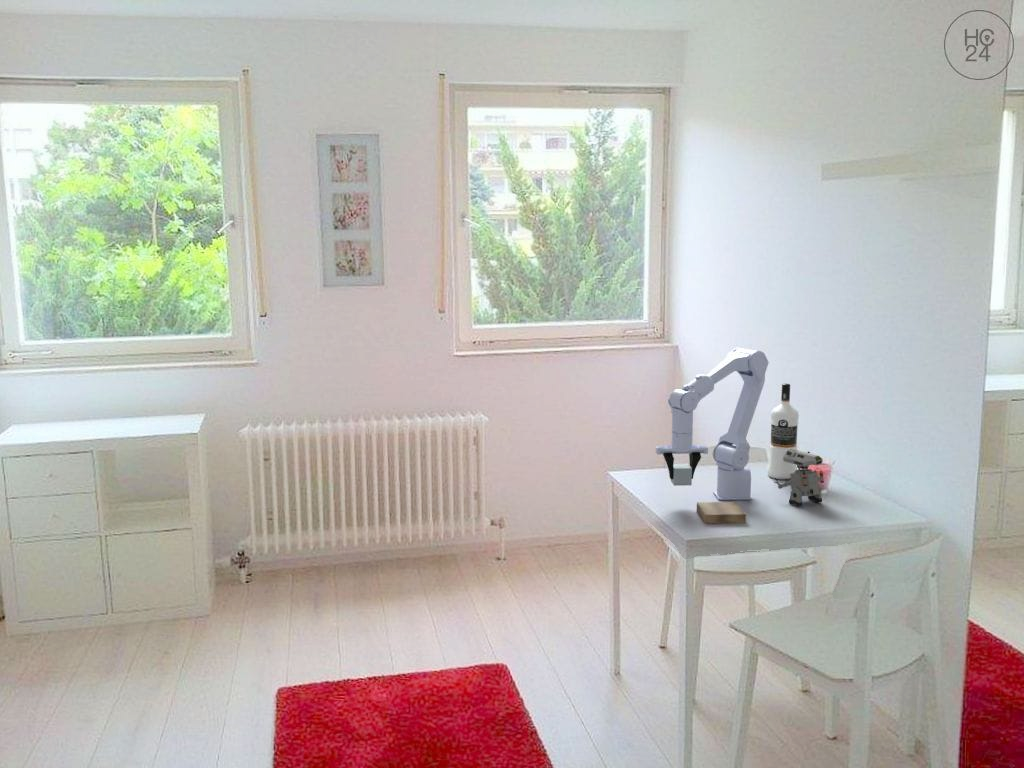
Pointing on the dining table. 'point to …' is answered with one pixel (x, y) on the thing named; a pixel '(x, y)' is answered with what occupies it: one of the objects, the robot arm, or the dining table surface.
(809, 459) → the figurine
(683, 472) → the block
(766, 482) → the dining table surface
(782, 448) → the vodka
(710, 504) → the plinth
